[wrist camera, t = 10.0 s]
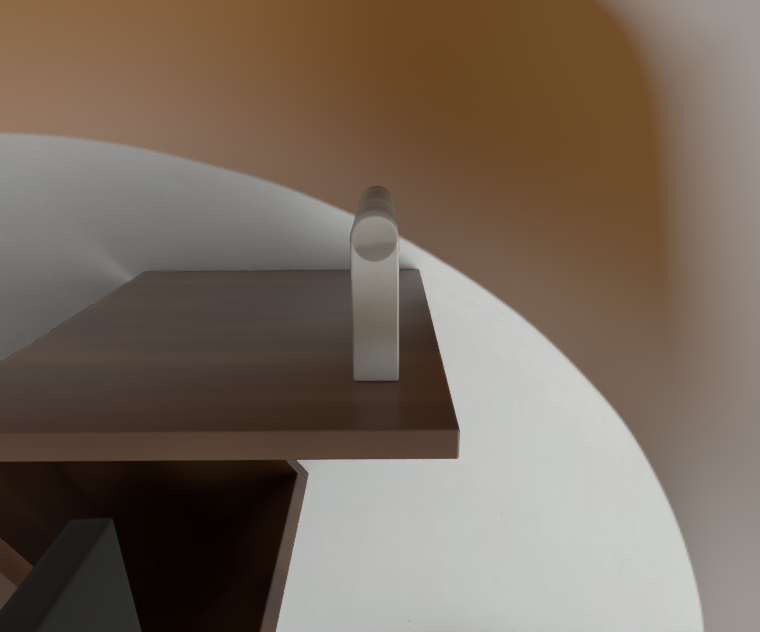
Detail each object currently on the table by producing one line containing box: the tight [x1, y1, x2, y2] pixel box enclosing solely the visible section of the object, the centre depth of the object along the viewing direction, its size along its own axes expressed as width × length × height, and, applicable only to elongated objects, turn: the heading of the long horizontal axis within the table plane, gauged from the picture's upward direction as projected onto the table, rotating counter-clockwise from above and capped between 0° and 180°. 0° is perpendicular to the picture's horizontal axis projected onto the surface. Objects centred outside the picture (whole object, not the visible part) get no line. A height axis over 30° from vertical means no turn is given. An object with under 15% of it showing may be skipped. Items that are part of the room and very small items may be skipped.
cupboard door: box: [0, 186, 460, 462], centre depth 26 cm, size 7×17×20 cm, turn 91°
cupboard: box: [0, 460, 308, 632], centre depth 30 cm, size 14×17×20 cm
